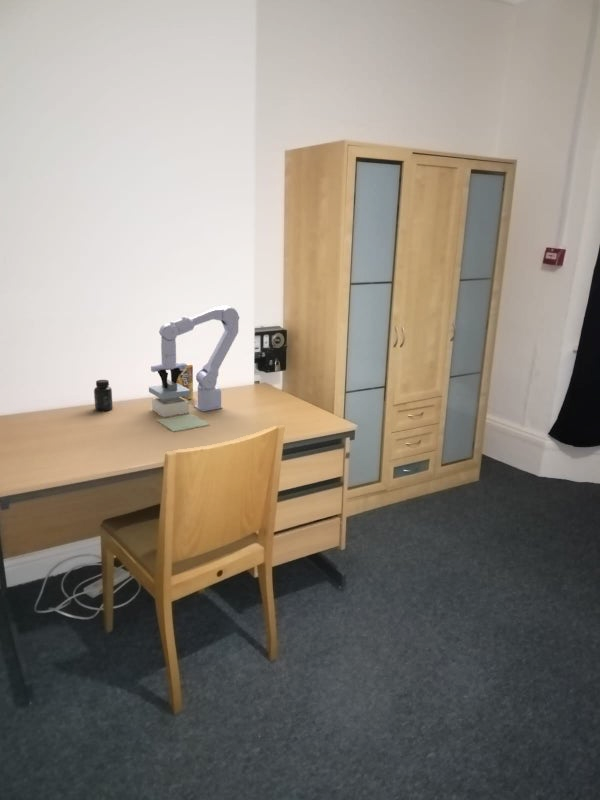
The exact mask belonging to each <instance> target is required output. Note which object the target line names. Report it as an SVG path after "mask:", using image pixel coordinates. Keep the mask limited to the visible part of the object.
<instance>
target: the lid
mask: <svg viewBox="0 0 600 800" xmlns="http://www.w3.org/2000/svg"><path fill="white" fill-rule="evenodd" d="M148 392H149V393H150V394H152V395H153V396H155V397H156V398H160V399H168V398H175V397H182V396H189V395H191V390H189V389H187V388H186V387H184V386H182V385H180V384H178V383H174V382H172V381H171V379H167V388H164V387H163V382H162V381H161V384H160V385H159V384H158V385H151V386H148Z"/></svg>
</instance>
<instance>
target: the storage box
mask: <svg viewBox="0 0 600 800" xmlns="http://www.w3.org/2000/svg"><path fill="white" fill-rule="evenodd" d="M151 406H152V407H151V408H152V411H153V410H154V411H153V412H155V413H156V412H157V414H158V415H159V414H160V415H159V416H161V417H162V416H163V417H162V418H167V417H173V416H178V415H177V414H179V415H185V414H189V412H190V411H189V400H188V399H186V400H185V399H183V398H182V397H175V398H168V399H160V398H158V397H152V398H151ZM184 413H185V414H184ZM172 415H173V416H172ZM166 416H167V417H166Z"/></svg>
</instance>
